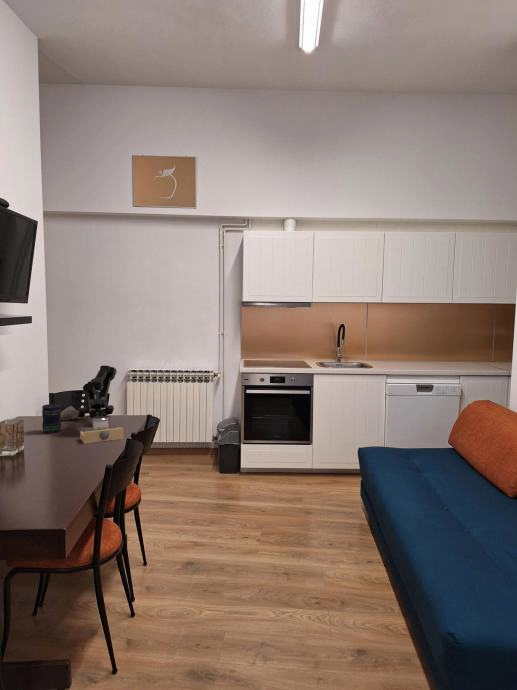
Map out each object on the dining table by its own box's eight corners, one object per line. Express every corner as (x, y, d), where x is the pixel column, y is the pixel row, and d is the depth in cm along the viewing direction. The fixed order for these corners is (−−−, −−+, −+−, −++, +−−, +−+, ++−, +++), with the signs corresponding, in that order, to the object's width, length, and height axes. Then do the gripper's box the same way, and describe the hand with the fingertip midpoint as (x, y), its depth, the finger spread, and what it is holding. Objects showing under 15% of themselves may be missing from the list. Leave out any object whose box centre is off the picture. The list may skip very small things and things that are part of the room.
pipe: (66, 434, 298) (86, 418, 306) (62, 426, 291) (83, 411, 299) (50, 418, 304) (70, 403, 312) (46, 410, 297) (67, 395, 305)
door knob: (84, 436, 265) (84, 416, 264) (110, 433, 272) (110, 413, 271) (89, 442, 253) (89, 421, 252) (116, 439, 260) (116, 419, 259)
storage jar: (56, 434, 267) (56, 407, 266) (39, 434, 268) (38, 407, 266) (64, 429, 277) (64, 404, 276) (47, 429, 278) (46, 403, 276)
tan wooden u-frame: (80, 438, 259) (79, 428, 259) (118, 434, 270) (118, 423, 270) (84, 444, 250) (84, 432, 250) (123, 439, 261) (123, 428, 260)
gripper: (78, 393, 264) (82, 417, 256) (113, 391, 274) (118, 414, 265) (75, 404, 271) (79, 428, 263) (109, 402, 281) (114, 425, 273)
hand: (98, 424), depth 266 cm, fingers closed, pressing on door knob
